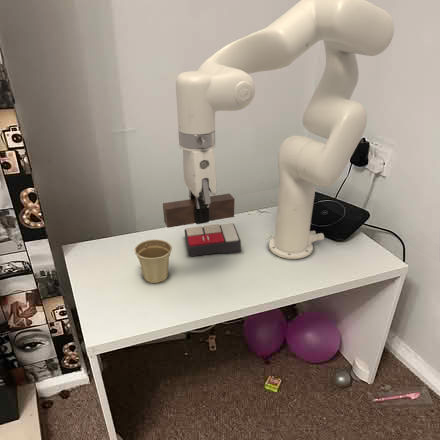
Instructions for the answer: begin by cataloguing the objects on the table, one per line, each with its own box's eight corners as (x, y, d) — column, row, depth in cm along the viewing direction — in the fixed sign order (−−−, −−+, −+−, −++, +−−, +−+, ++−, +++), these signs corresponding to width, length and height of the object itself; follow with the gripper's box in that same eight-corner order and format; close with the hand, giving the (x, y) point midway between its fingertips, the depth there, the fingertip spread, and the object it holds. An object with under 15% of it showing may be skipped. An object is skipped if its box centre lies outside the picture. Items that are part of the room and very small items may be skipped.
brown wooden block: (229, 211, 104) (229, 193, 102) (234, 217, 102) (234, 198, 99) (164, 221, 100) (162, 203, 97) (167, 228, 98) (166, 209, 95)
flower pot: (172, 265, 120) (170, 237, 114) (175, 285, 112) (173, 256, 107) (137, 268, 118) (134, 240, 113) (138, 289, 111) (134, 260, 106)
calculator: (184, 226, 130) (233, 220, 131) (185, 239, 132) (234, 233, 133) (187, 245, 121) (240, 238, 122) (189, 258, 123) (241, 251, 125)
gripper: (228, 149, 85) (227, 232, 96) (202, 126, 97) (204, 202, 108) (190, 153, 83) (194, 238, 94) (169, 129, 95) (174, 206, 106)
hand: (199, 218), depth 101 cm, fingers closed on brown wooden block, 3 cm apart
